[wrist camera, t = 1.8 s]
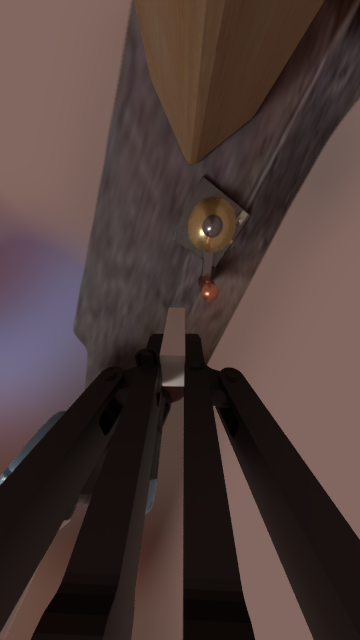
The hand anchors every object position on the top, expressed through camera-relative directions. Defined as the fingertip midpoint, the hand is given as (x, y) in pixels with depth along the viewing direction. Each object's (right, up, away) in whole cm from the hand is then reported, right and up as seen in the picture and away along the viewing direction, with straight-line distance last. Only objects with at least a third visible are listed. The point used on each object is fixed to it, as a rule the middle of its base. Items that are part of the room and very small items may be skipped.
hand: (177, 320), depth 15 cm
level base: (+5, +15, +10) cm, 19 cm away
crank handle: (+5, +12, +11) cm, 17 cm away
